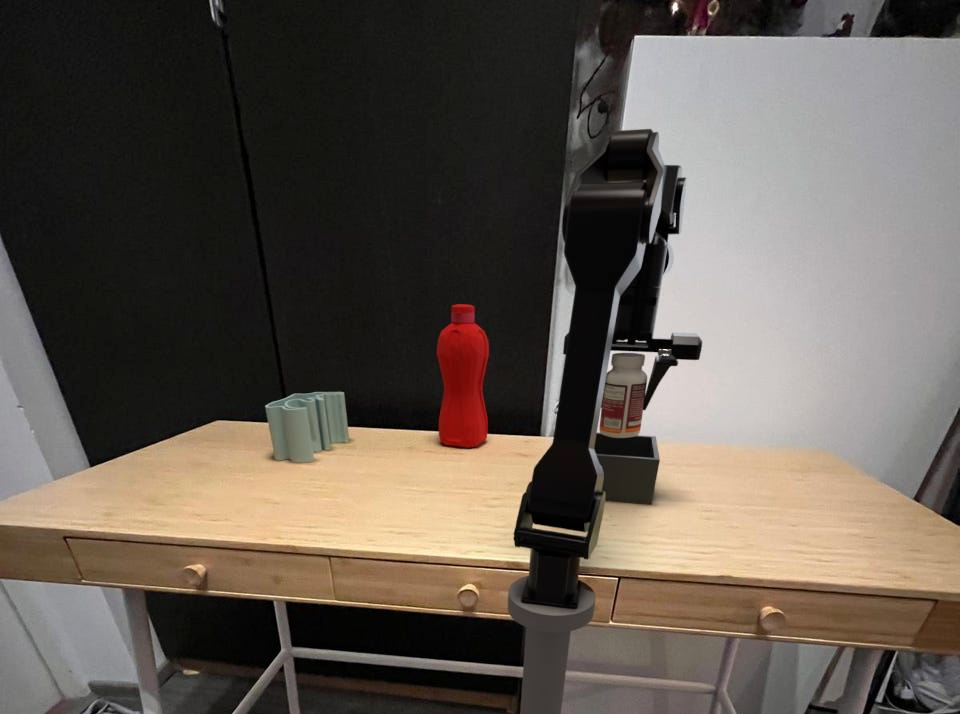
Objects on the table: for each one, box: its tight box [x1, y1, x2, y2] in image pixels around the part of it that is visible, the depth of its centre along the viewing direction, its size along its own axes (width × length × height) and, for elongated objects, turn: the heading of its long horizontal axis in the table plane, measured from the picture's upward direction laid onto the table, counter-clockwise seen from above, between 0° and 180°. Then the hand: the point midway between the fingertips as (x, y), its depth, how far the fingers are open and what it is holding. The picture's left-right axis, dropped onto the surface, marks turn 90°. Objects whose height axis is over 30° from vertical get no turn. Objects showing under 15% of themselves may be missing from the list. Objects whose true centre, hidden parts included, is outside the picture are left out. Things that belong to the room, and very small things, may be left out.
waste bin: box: [594, 432, 661, 505], centre depth 94 cm, size 15×15×7 cm
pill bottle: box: [598, 352, 648, 438], centre depth 84 cm, size 6×6×11 cm
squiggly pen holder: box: [264, 391, 350, 464], centre depth 110 cm, size 18×10×9 cm, turn 171°
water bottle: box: [436, 303, 490, 449], centre depth 112 cm, size 9×11×25 cm
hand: (622, 408), depth 85 cm, fingers closed on pill bottle, 6 cm apart
